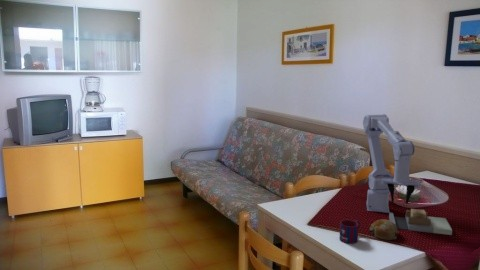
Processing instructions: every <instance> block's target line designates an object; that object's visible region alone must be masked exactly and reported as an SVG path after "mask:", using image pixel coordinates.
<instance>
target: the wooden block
mask: <svg viewBox="0 0 480 270" xmlns="http://www.w3.org/2000/svg"><path fill="white" fill-rule="evenodd" d="M410 211H411V216H410V217H413V218H423V219H426V213H425V212H426V211H425V209H420V208H419V209H416V208H410Z"/></svg>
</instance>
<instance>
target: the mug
mask: <svg viewBox="0 0 480 270" xmlns="http://www.w3.org/2000/svg"><path fill="white" fill-rule="evenodd" d="M339 223H340V224H339V240H340V242H342V243H345V244H351V245H353V244H356V243H358V241H359V240H358V239H359V230H360V221H359V220H357V219H356V220H354V219H353V220H352V219H342V220H341V221H339Z"/></svg>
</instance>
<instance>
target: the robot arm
mask: <svg viewBox="0 0 480 270" xmlns="http://www.w3.org/2000/svg"><path fill="white" fill-rule="evenodd" d="M362 125H363V132H364V134H365V135H366V136H367V142H368V148H369V152H370V158H371V163H372V169H373V170H372V171H371V172H370V173H369V174H368V187H369V189H367V195H366V196H367V197H366V202H365V203H366V211H369V212H377V213H378V212H379V213H387V214H389V212H390V208H389V200H390V199H391V200H390V201H391V203H394V202H395V201H394V200H395V199H394V198H395V197H394V196H395V186H403V187H405V186H406V195H405V201H404V202H405V204H407V205H408V204H409V201H410V198H411V196H412V195H413V193H414V192H415V189H416V187H417V188H421V186H422V185H421V184H422V183H421V181H419V180H417V181H416V180H411V179H410V170H411V158H412V156H413V155H414V154H415V150H416V149H415V144H414V142H413V141H411V140H406V139H405V138H404V136H403V135H402V134H401V133H400V131H399V130H394V128H393V127H392V126H391V124H390V118H389V117H388V115H387V114H365V116H364V117H363V120H362ZM382 134H385V136H386V140H387V142H388V143H389V145H390V146H391V147H392V152H393V158H394V159H393V160H394V169H393V170H394V171H393V173H394V174H392V172H390V171H389V170H387V169H386V165H385V162H384V154H383V151H382V150H383V149H382V144H381V140H380V135H382ZM392 175H393V176H392ZM390 197H391V198H390Z"/></svg>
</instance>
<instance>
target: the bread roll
mask: <svg viewBox="0 0 480 270" xmlns="http://www.w3.org/2000/svg"><path fill="white" fill-rule="evenodd" d="M368 231H369V233H371V235H372V236H373V237H375V238H378V239H379V238H380V239H379V240H385V241H391V240H392V241H393V240H396V239H398V238H397V237H398V233H399V229H397V226H396V225H395V224H394V223H393V222H391V221H390V219H384V218H383V219H382V218H381V219H377V220H374V222H372V223H371V224H370V226H369V230H368Z"/></svg>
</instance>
